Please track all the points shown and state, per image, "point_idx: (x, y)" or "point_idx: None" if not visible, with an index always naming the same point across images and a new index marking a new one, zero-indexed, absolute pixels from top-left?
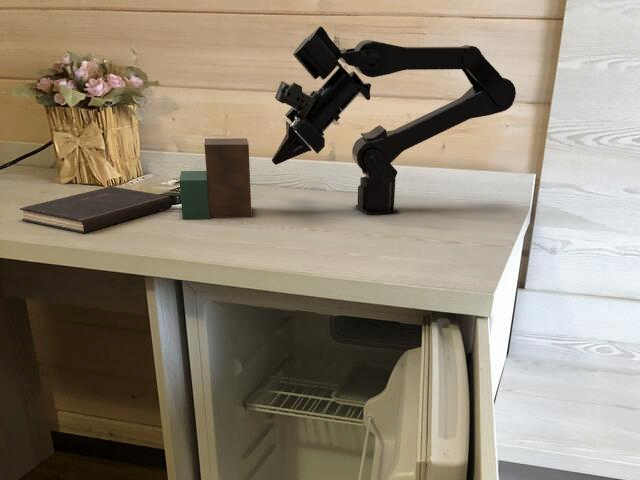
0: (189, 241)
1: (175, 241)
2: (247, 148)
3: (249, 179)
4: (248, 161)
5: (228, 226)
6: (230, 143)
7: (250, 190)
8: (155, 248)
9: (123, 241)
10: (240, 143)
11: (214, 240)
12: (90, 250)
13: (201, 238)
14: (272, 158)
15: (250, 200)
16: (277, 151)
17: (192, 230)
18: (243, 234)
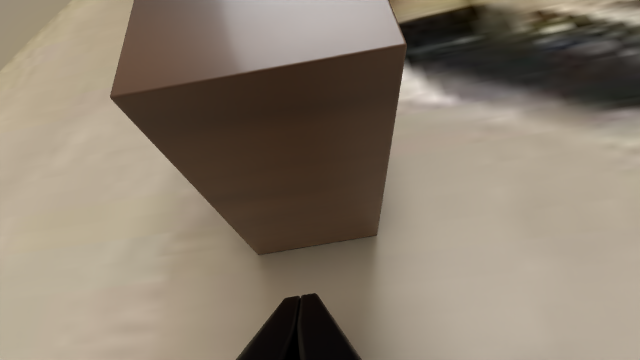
0: (43, 145)
1: (53, 121)
2: (129, 110)
3: (211, 204)
4: (173, 160)
5: (154, 204)
6: (166, 5)
7: (230, 224)
8: (18, 101)
9: (85, 47)
10: (157, 48)
11: (30, 193)
12: (47, 25)
13: (58, 163)
14: (316, 297)
15: (241, 236)
16: (283, 340)
17: (133, 133)
18: (60, 256)
